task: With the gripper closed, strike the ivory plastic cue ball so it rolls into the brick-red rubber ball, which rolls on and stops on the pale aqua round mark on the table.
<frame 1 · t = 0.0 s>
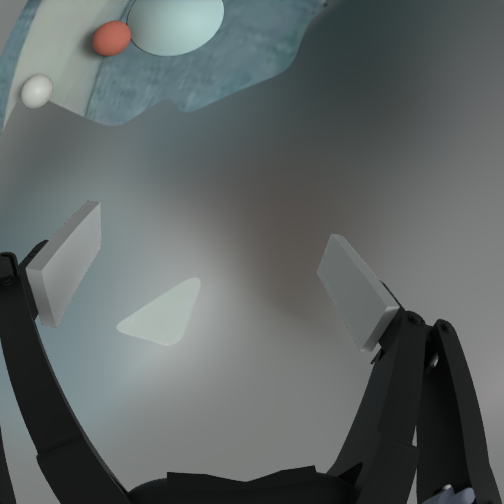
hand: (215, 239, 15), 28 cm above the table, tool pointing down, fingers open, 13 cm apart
cue ball: (36, 91, 26), on the table
object ball: (111, 38, 25), on the table
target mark: (174, 14, 27), on the table
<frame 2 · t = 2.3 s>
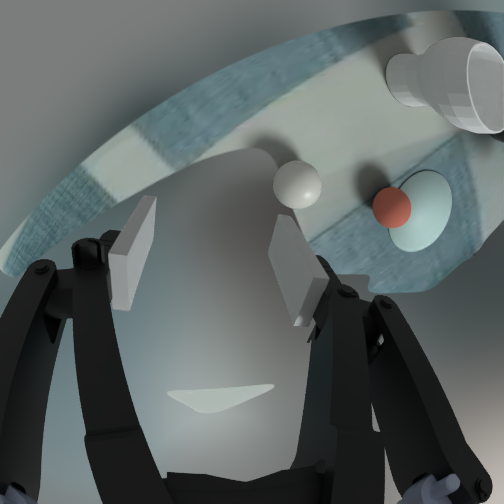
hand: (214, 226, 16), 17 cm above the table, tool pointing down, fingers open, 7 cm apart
cue ball: (297, 184, 31), on the table
cup: (406, 79, 28), on the table
object ball: (392, 207, 34), on the table
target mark: (422, 212, 38), on the table
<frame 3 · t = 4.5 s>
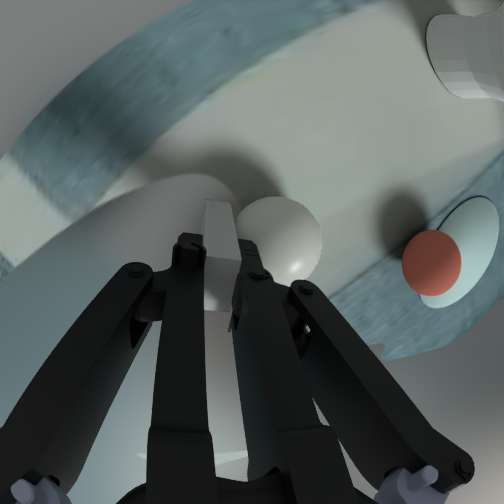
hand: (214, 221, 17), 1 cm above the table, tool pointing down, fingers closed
cue ball: (275, 243, 17), on the table, touching gripper
cup: (454, 55, 14), on the table
object ball: (431, 263, 20), on the table
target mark: (463, 256, 24), on the table
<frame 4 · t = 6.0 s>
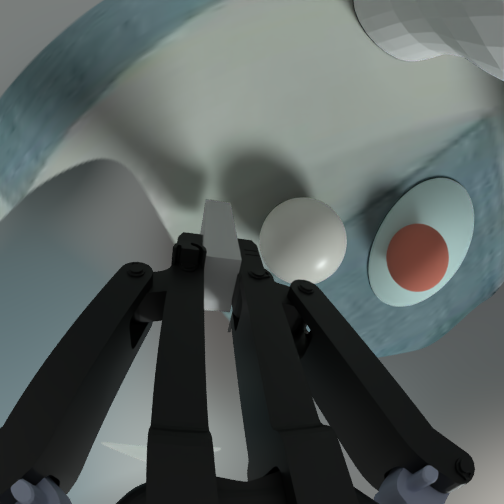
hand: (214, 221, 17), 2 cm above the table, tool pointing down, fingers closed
cue ball: (303, 241, 18), on the table
cup: (396, 16, 13), on the table
object ball: (417, 257, 20), on the table
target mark: (428, 247, 23), on the table
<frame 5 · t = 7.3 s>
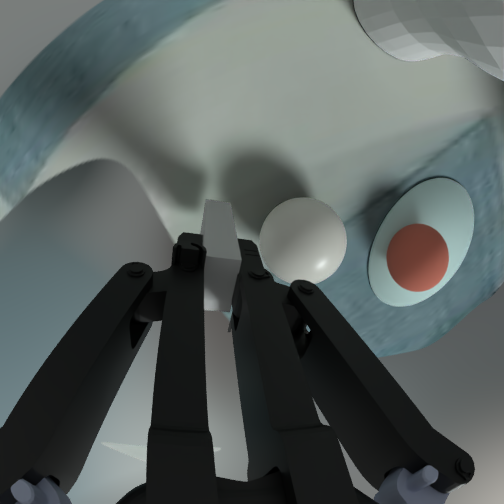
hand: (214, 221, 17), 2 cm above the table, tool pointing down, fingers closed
cue ball: (303, 241, 18), on the table
cup: (396, 16, 13), on the table
object ball: (417, 257, 20), on the table
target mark: (428, 247, 23), on the table
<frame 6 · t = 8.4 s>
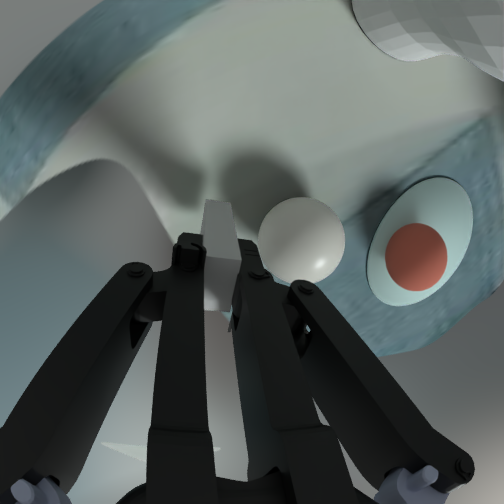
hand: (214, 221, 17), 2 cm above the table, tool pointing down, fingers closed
cue ball: (301, 240, 18), on the table
cup: (394, 16, 13), on the table
object ball: (416, 257, 20), on the table
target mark: (426, 247, 23), on the table
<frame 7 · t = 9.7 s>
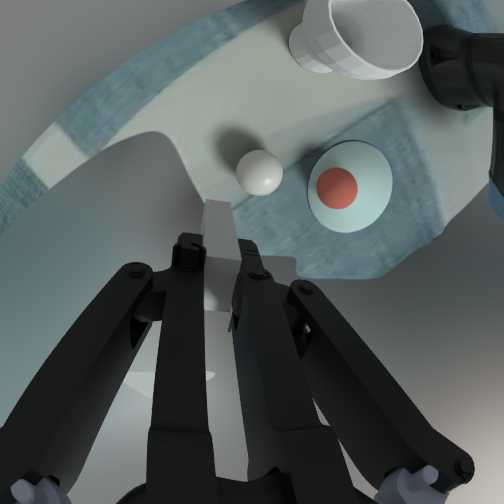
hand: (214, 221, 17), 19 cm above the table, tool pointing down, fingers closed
cue ball: (259, 172, 33), on the table
cup: (317, 46, 28), on the table
object ball: (337, 188, 35), on the table
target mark: (352, 188, 38), on the table
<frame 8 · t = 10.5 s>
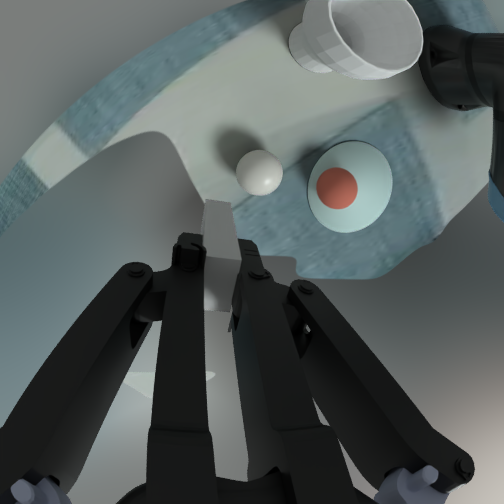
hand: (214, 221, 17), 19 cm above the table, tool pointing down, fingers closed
cue ball: (259, 172, 33), on the table
cup: (317, 46, 28), on the table
object ball: (337, 188, 35), on the table
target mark: (352, 188, 38), on the table
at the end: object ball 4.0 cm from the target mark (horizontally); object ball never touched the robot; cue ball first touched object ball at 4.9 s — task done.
